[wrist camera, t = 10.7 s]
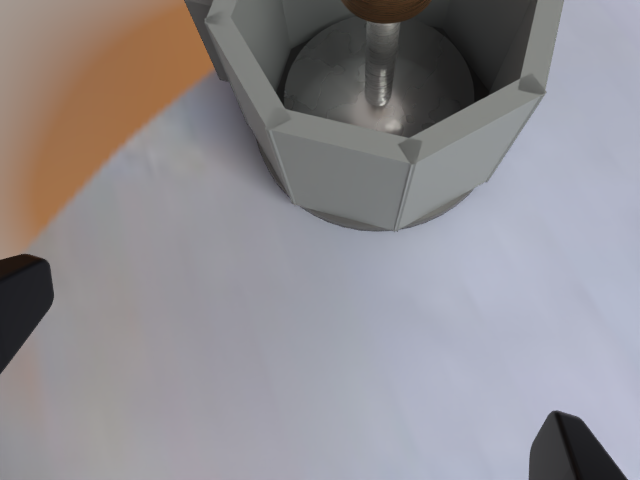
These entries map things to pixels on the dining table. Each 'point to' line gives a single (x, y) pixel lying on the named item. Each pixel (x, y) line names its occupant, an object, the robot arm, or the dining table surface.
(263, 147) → the press jug
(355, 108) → the plunger
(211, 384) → the dining table surface
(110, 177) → the dining table surface
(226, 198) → the dining table surface
